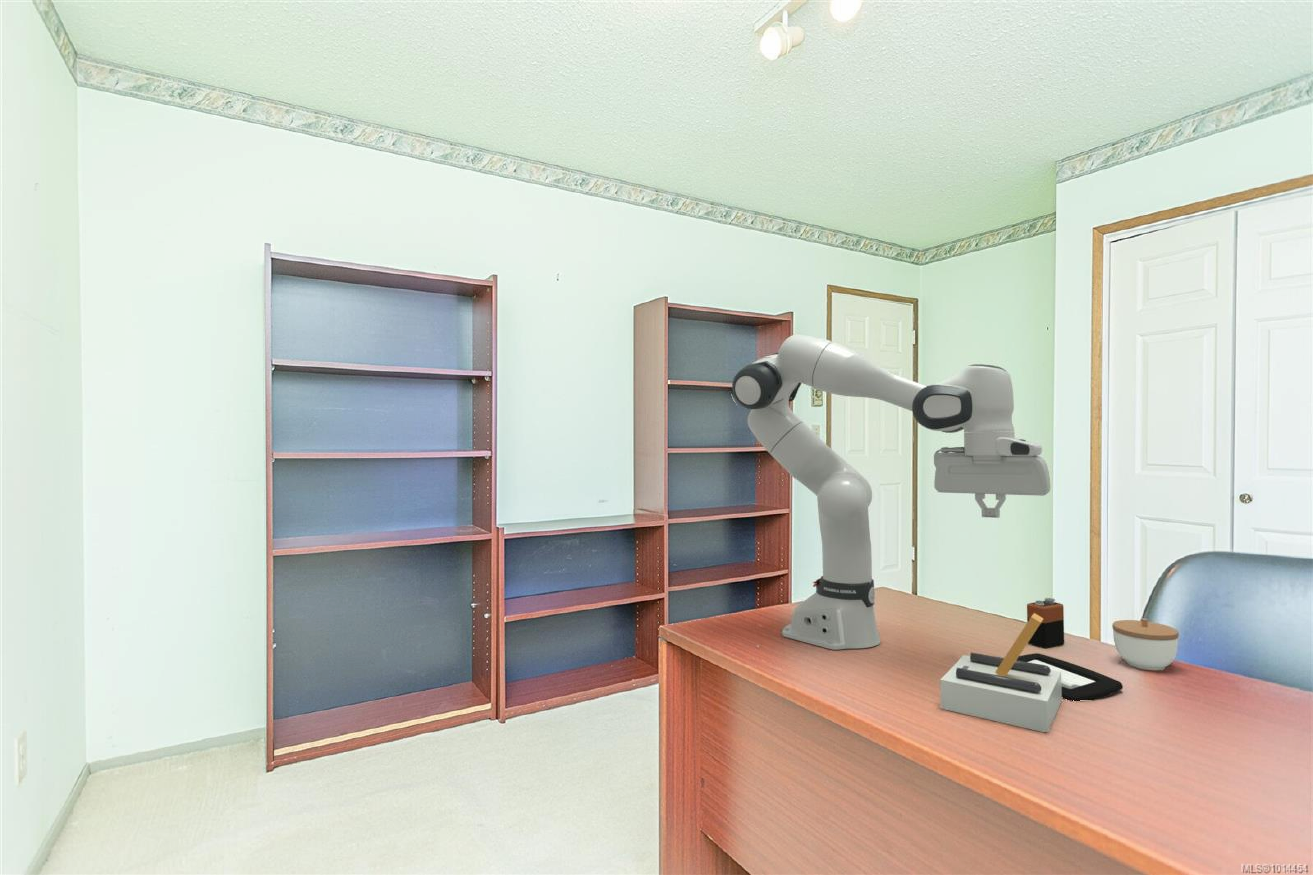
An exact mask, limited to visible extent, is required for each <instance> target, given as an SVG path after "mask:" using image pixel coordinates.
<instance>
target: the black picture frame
mask: <svg viewBox="0 0 1313 875" xmlns="http://www.w3.org/2000/svg"><path fill="white" fill-rule="evenodd" d="M1017 661H1023V662H1029V663H1035V664H1041V665H1046V666H1048V667H1049V668H1050V670H1052V671H1058V672H1061V686H1062V697H1063V698H1065V699H1067V700H1066V701H1068V700H1072V701H1073V700H1074V701H1080V700H1092V701H1095V700H1100V699H1103V698H1106V697H1109V696H1111V695H1114V694H1116V693H1117V692H1119V691H1121V690H1123V688H1124V687H1123V684H1122V682H1121V681H1119V680H1117V679H1114V678H1112V677H1110V676H1107V675H1104V674H1103V673H1100V672H1097V671H1094V670H1092V669H1088V668H1086V667H1084V666H1080V665H1078V664H1074V663H1072V662H1068V661H1066V660H1063V659H1059V658H1056V657H1053V656H1050V655H1046V654H1043V653H1038V652H1034V653H1029V654H1028V653H1027V654H1024V655H1020V656H1019V657H1018V659H1017ZM1063 698H1062V699H1063ZM1065 699H1064V700H1065ZM1072 701H1071V702H1072ZM1080 702H1081V701H1080Z"/></svg>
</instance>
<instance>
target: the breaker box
mask: <svg viewBox="0 0 1313 875" xmlns="http://www.w3.org/2000/svg"><path fill="white" fill-rule="evenodd" d="M969 654H970V655H966V654H963V655H962V656H961V657H960V658H959V660H958V661H956V662H955V663H954V665H952V667H950V669H949V670H948V671H947V672H946V673H945V674H944V675H943V676H942V677H941V678H940V684H939V685H940V709H941V710H946V711H950V712H954V713H958V714H963V715H966V716H967V715H968V716H972V717H975V718H981V719H985V720H989V721H993V722H997V723H1002V724H1007V725H1010V726H1015V727H1020V728H1024V729H1029V730H1033V731H1036V732H1037V731H1038V732H1041V733H1045V732H1047V733H1046V734H1049V732H1050V730H1051V727H1052V724H1053V723H1054V720H1055V717H1056V715H1057V712H1058V711H1059V708H1060V706H1059V705H1061V704H1060V703H1062V701H1061V700H1063V698H1062V686H1061V672H1058V671H1052V670H1050V668H1049V667H1048V666H1046V665H1041V664H1035V663H1029V662H1023V661H1017V660H1016V662H1015V663H1014V665H1013V666H1012V668H1011V669H1010V671H1009V672H1008V674H1007V675H1006V677H1004V676H1000V675H998V674H997V673H995V672H996V670H997V669H998V667H999V666H1000V664H1001V663H1002V661H1003V659H1004V658H1005V657H999V656H994V655H988V654H981V653H978V652H977V653H975V652H970V653H969ZM1057 710H1058V711H1057ZM1049 729H1050V730H1049Z"/></svg>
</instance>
